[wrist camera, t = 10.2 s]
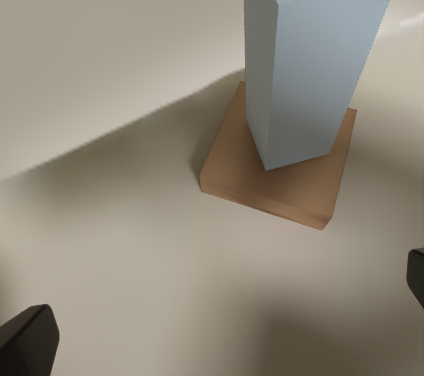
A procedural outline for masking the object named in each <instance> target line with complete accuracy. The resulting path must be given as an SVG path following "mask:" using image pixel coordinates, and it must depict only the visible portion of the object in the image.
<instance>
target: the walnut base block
mask: <svg viewBox="0 0 424 376" xmlns="http://www.w3.org/2000/svg"><path fill="white" fill-rule="evenodd" d="M356 112H357V110H355V109H351V108H347V110H346V113H345V115H344V118H343V120H342V123H341V125H340V128H339V130H338V133H337V136H336V138H335V141H334V143H333V146H332V148H331V151H330V153H329V154H327V155H323V156H319V157H316V158H312V159H308V160H304V161H301V162H297V163H293V164H290V165H286V166H282V167H278V168H275V169H271V170H267V171H265V168H264V166H263V163H262V160H261V158H260V155H259V152H258V150H257V147H256V144H255V142H254V139H253V136H252V134H251V131H250V128H249V126H248V123H247V120H246V82H242V81H241V82H240V85H239V87H238V89H237V91H236V94H235V96H234V98H233V100H232V103H231V105H230V107H229V109H228V112H227V114H226V116H225V118H224V121H223V123H222V125H221V127H220V130H219V132H218V134H217V136H216V139H215V141H214V143H213V145H212V148H211V150H210V152H209V154H208V157H207V159H206V161H205V163H204V166H203V168H202V170H201V172H200V175H199V178H200V185H201V191H202V192H205V193H208V194H211V195H214V196H217V197H220V198H223V199H226V200H229V201H232V202H235V203H238V204H242V205H245V206H248V207H251V208H254V209H257V210H260V211H263V212H266V213H269V214H272V215H275V216H279V217H282V218H285V219H288V220H291V221H294V222H297V223H300V224H303V225H306V226H309V227H313V228H316V229H319V230H323V229H324V227H325V226H326V225H327V223H328V222H329V221H330V219H331V218H332V216H333V212H334V207H335V203H336V199H337V194H338V190H339V186H340V181H341V177H342V173H343V168H344V164H345V160H346V156H347V151H348V147H349V143H350V138H351V134H352V130H353V125H354V121H355V117H356Z"/></svg>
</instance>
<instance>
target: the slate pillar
mask: <svg viewBox="0 0 424 376" xmlns="http://www.w3.org/2000/svg"><path fill="white" fill-rule="evenodd" d="M389 1H390V0H244V19H245V20H244V25H245V76H246V120H247V123H248V126H249V128H250V131H251V134H252V136H253V139H254V142H255V144H256V147H257V150H258V152H259V155H260V158H261V160H262V163H263V166H264V168H265V171H267V170H271V169H275V168H278V167H282V166H286V165H290V164H293V163H297V162H301V161H304V160H308V159H312V158H316V157H319V156H323V155H327V154H329V153H330V151H331V148H332V146H333V143H334V141H335V138H336V136H337V133H338V130H339V128H340V125H341V123H342V120H343V118H344V115H345V113H346V110H347V108H348V105H349V103H350V100H351V97H352V95H353V92H354V90H355V87H356V85H357V82H358V80H359V77H360V75H361V72H362V70H363V67H364V64H365V62H366V59H367V57H368V54H369V52H370V49H371V47H372V44H373V42H374V39H375V36H376V34H377V31H378V29H379V26H380V24H381V21H382V19H383V16H384V14H385V11H386V8H387V6H388V3H389Z"/></svg>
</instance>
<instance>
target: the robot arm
mask: <svg viewBox="0 0 424 376" xmlns="http://www.w3.org/2000/svg"><path fill="white" fill-rule="evenodd" d="M406 278H407V283H408V286H409V288H410V290H411V291H412V292H413V294H414V295H415V297H416V298H417V300H418V301H419V303H420V304H421V306H422V307H423V309H424V248H418V249H412V250H411V251H410V252H409V254H408V262H407V276H406ZM58 343H59V329H58V326H57V323H56V320H55V317H54V314H53V311H52V309H51V307H50V306H49V305H47V304H42V305H36V306H31V307H29V308H27V309H26V310H24V311H23V312H21V313H20V314H18V315H17V316H15V317H14V318H12V319H11V320H9V321H8V322H6V323H5V324H3V325H2V326H0V376H50V374H51V370H52V367H53V363H54V359H55V355H56V351H57V347H58Z"/></svg>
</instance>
